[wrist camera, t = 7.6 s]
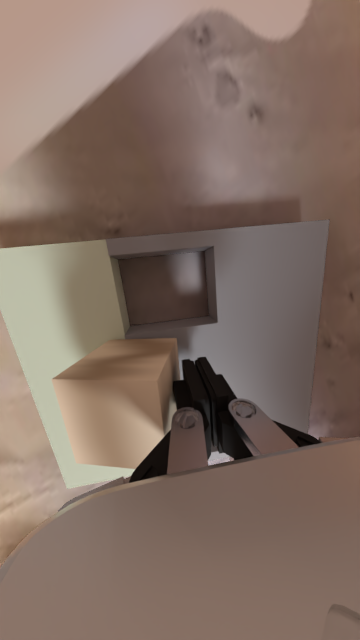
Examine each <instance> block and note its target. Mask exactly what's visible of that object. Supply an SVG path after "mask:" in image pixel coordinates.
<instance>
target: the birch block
mask: <svg viewBox="0 0 360 640" xmlns="http://www.w3.org/2000/svg"><path fill="white" fill-rule="evenodd" d="M51 380H52V383H53V387H54V390H55V393H56V397H57V400H58V404H59V407H60V410H61V414H62V417H63V420H64V424H65V427H66V431H67V434H68V437H69V441H70V444H71V448H72V451H73V454H74V458H75V461H76V463H78V464H88V465H98V466H109V467H119V468H129V469H136V468H137V467H138V465H139V464H140V463H141V462H142V461H143V460H144V459H145V458H146V457H147V455H148V454H149V453H150V452H151V451H152V450H153V449H154V448H155V446H156V445H157V444H158V443H159V442H160V441H161V440H162V439H163V437H164V436H165V435H166V434H167V433H168V432H169V431H170V430H171V423H172V417H173V415H174V413H175V412H176V411H177V408H176V400H175V391H174V382H173V381H177V380H180V369H179V358H178V347H177V338H156V339H119V340H108V341H107V342H106V343H104V344H103V345H101V346H100V347H98V348H97V349H95V350H94V351H92V352H91V353H89V354H88V355H86V356H85V357H83V358H82V359H81V360H79V361H78V362H76V363H75V364H73V365H72V366H70V367H69V368H67V369H66V370H64V371H63V372H61V373H60V374H58V375H57V376H56V377H54V378H53V379H51Z"/></svg>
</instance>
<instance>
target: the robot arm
mask: <svg viewBox="0 0 360 640" xmlns="http://www.w3.org/2000/svg"><path fill="white" fill-rule="evenodd" d="M182 370H183V380H177V381H173V382H174V391H175V400H176V408H177V411H176V412H175V413H174V415H173V417H172V423H171V430H170V431H169V432H168V433H167V434H166V435H165V436H164V437H163V439H162V440H161V441H160V442H159V443H158V444H157V445H156V446H155V448H154V449H153V450H152V451H151V452H150V453H149V454H148V455H147V457H146V458H145V459H144V460H143V461H142V462H141V463H140V464H139V465H138V467H137V468H136V469H135V470H134V472H133V473H132V475H131V476H130V477H128V478H126V479H124V477H123V476H122V477H120V478H118V479H116V480H114V481H111V482H109V483H107V484H105V485H102V486H100V487H98V488H96V489H93V490H91V491H89V492H87V493H84V494H82V495H80V496H78V497H75V498H73V499H72V500H70V501H68V502H67V503H65V504H64V505H63V506H62V507H61V508H60V509H59V510H58V512H57V513H55V514H54V515H52V516H51V517H49V518H48V519H47V520H45V521H44V522H42V523H41V524H40V525H39V526H37V527H36V528H35V529H34V530H32V531H31V532H30V533H29V534H28V535H27V536H26V537H25V538H24V539H23V540H22V541H21V542H20V543H19V544H18V545H17V547H16V548H15V549H14V550H13V551H12V552H11V554H10V555H9V556H8V558H7V559H6V560H5V562H4V563H3V564H2V566H1V567H0V640H360V436H359V437H352V438H331V437H319V440H317V439H316V438H314V437H312V436H310V435H309V434H306V433H304V432H301V431H299V430H296V429H294V428H291V427H289V426H286V425H284V424H281V423H279V422H276V421H274V420H271V419H270V418H269V417H268V416H267V415H266V414H265V413H264V412H263V411H262V410H261V409H260V408H259V407H258V406H257V405H256V404H255V403H254V402H252V401H250V400H248V399H243V398H237V397H236V395H235V394H234V392H233V391H232V389H231V388H230V386H229V384H228V383H227V381H226V380H225V378H224V377H223V375H222V374H217V375H216V373H215V372H214V370H213V368H212V367H211V365H210V363H209V361H208V360H207V358H206V357H199V358H197V360H195V364H194V361H190V359H184V360H182ZM211 441H212V445H213V447H215V446H217V449H218V452H219V454H220V453H225V454H227V455H229V458H230V461H229V462H224V463H219V464H214V465H210V466H208V459H209V458H210V456H211Z"/></svg>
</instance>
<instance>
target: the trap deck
mask: <svg viewBox="0 0 360 640" xmlns="http://www.w3.org/2000/svg"><path fill="white" fill-rule="evenodd" d="M329 221H330V219H329V220H318V221H306V222H295V223H283V224H272V225H260V226H249V227H237V228H226V229H215V230H203V231H192V232H180V233H169V234H157V235H146V236H134V237H123V238H111V239H104V240H93V241H81V242H70V243H58V244H47V245H36V246H24V247H13V248H1V249H0V310H1V313H2V316H3V318H4V321H5V324H6V326H7V329H8V332H9V334H10V337H11V340H12V342H13V345H14V348H15V350H16V353H17V356H18V358H19V361H20V364H21V366H22V369H23V372H24V374H25V377H26V380H27V383H28V385H29V388H30V391H31V393H32V396H33V399H34V401H35V404H36V407H37V409H38V412H39V415H40V417H41V420H42V423H43V425H44V428H45V431H46V433H47V436H48V439H49V441H50V444H51V447H52V449H53V452H54V455H55V457H56V460H57V463H58V465H59V468H60V471H61V473H62V476H63V479H64V481H65V484H66V487H67V489H69V488H74V487H79V486H84V485H89V484H94V483H99V482H104V481H109V480H114V479H118V478H120V477H122V476H123V477H128V476H131V475H132V473H133V472H134V470H135V469H129V468H119V467H109V466H98V465H88V464H78V463H76V461H75V458H74V454H73V451H72V448H71V444H70V441H69V437H68V434H67V431H66V427H65V424H64V420H63V417H62V414H61V410H60V407H59V404H58V400H57V397H56V393H55V390H54V387H53V383H52V380H51V379H53V378H54V377H56V376H57V375H58V374H60V373H61V372H63V371H64V370H66V369H67V368H69V367H70V366H72V365H73V364H75V363H76V362H78V361H79V360H81V359H82V358H83V357H85V356H86V355H88V354H89V353H91V352H92V351H94V350H95V349H97V348H98V347H100V346H101V345H103V344H104V343H106V342H107V341H108V340H119V339H156V338H177V347H178V358H179V369H180V380H183V370H182V360H184V359H190V361H194V364H195V360H197V358H199V357H206V358H207V360H208V361H209V363H210V365H211V367H212V368H213V370H214V372H215V373H216V375H217V374H222V375H223V377H224V378H225V380H226V381H227V383H228V384H229V386H230V388H231V389H232V391H233V392H234V394H235V395H236V397H237V398H243V399H248V400H250V401H252V402H254V403H255V404H256V405H257V406H258V407H259V408H260V409H261V410H262V411H263V412H264V413H265V414H266V415H267V416H268V417H269V418H270V419H271V420H274V421H276V422H279V423H281V424H284V425H286V426H289V427H291V428H294V429H296V430H299V431H301V432H304V433H306V434H308V426H309V416H310V406H311V396H312V387H313V377H314V367H315V357H316V347H317V338H318V328H319V318H320V308H321V299H322V289H323V279H324V269H325V260H326V250H327V240H328V230H329ZM199 251H205V264H206V280H207V295H208V311H209V316H204V317H196V318H189V319H181V320H173V321H166V322H158V323H150V324H143V325H135V326H130V323H129V318H128V312H127V307H126V301H125V296H124V291H123V285H122V280H121V274H120V269H119V264H118V259H127V258H138V257H148V256H158V255H168V254H178V253H189V252H199ZM227 457H229V455H227V454H225V453H220V454H219V452H218V449H217V446H215V447H213V445H212V441H211V456H210V458H209V459H208V461H212V460H217V459H222V458H227Z"/></svg>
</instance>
